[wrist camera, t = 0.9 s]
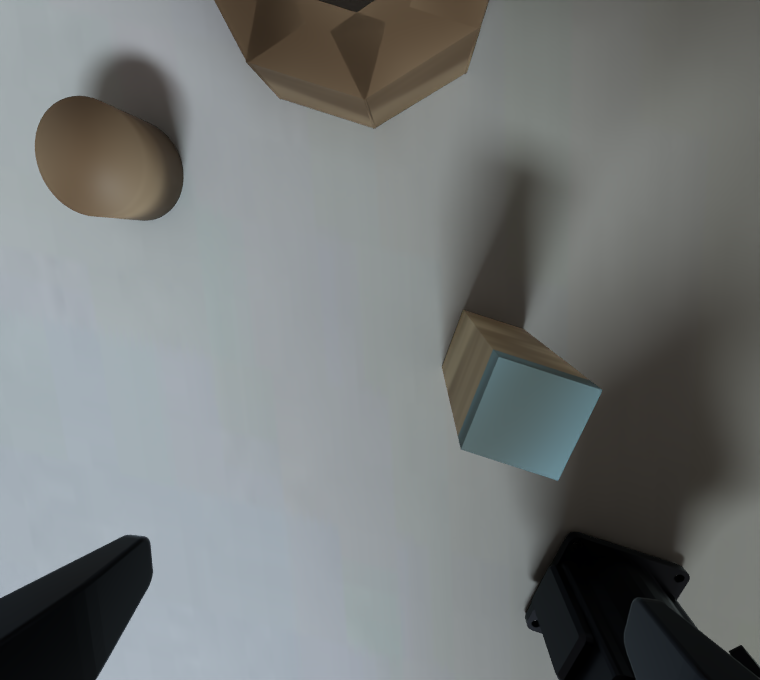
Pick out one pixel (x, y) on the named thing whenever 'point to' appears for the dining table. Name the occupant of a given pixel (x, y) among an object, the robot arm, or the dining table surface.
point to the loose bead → (107, 161)
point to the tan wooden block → (515, 396)
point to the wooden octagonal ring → (356, 51)
